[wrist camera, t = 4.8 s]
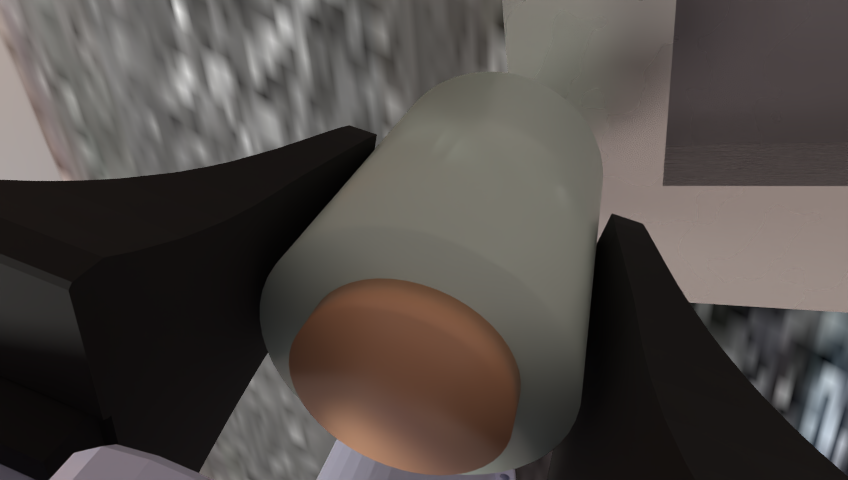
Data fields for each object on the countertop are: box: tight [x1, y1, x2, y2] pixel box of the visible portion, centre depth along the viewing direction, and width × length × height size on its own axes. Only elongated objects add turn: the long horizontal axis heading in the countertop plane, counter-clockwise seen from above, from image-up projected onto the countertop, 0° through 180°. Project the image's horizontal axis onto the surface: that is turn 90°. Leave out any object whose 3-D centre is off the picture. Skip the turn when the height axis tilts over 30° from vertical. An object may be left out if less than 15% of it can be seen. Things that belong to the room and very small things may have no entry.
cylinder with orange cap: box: [260, 72, 603, 475], centre depth 10 cm, size 5×5×7 cm
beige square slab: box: [502, 0, 848, 312], centre depth 14 cm, size 14×14×4 cm
